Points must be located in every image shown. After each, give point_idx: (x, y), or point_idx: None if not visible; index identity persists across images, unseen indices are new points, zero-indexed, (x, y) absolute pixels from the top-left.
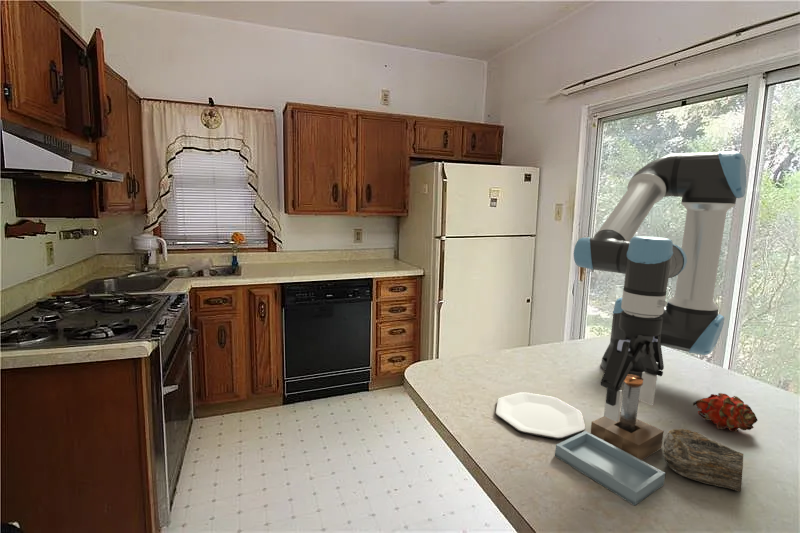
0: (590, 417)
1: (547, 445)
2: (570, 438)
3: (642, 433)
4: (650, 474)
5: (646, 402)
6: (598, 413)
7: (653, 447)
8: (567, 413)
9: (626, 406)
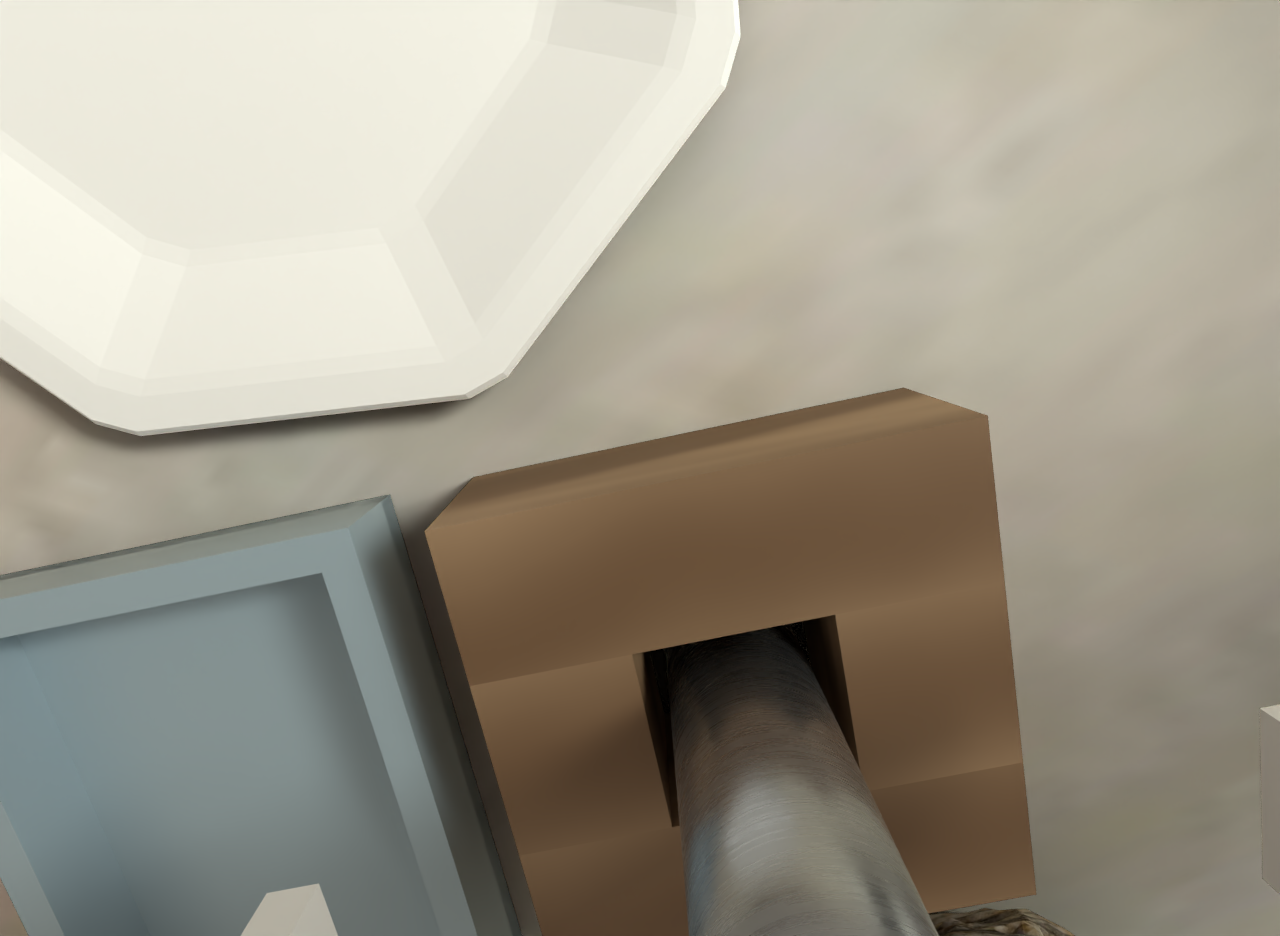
0: (805, 153)
1: (5, 433)
2: (91, 588)
3: None
4: None
5: (1270, 819)
6: (971, 110)
7: None
8: (585, 1)
9: None
